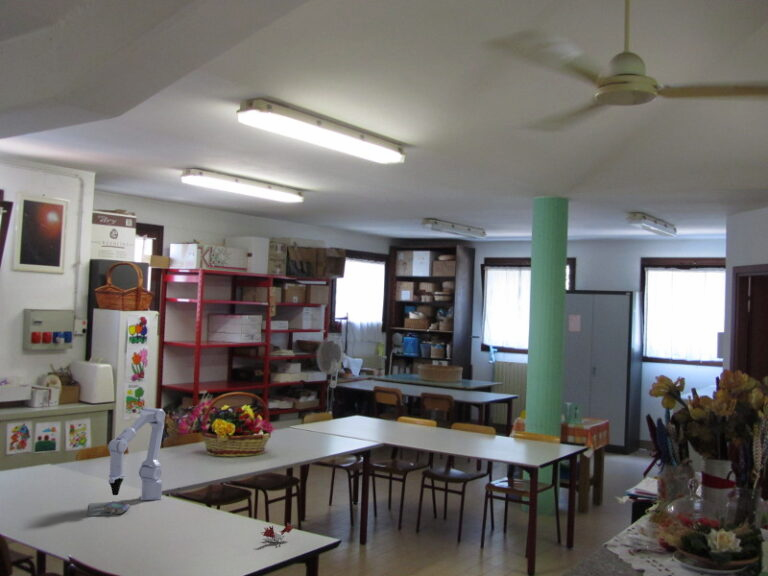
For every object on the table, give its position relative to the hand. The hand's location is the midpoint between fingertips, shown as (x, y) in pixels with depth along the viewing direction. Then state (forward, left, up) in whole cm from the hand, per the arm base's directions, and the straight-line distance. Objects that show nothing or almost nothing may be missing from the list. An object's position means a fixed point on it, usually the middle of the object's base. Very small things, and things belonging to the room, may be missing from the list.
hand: (115, 494), depth 334 cm
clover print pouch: (-2, +1, -4) cm, 5 cm away
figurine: (-62, +63, -7) cm, 89 cm away
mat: (+5, 0, -6) cm, 8 cm away
